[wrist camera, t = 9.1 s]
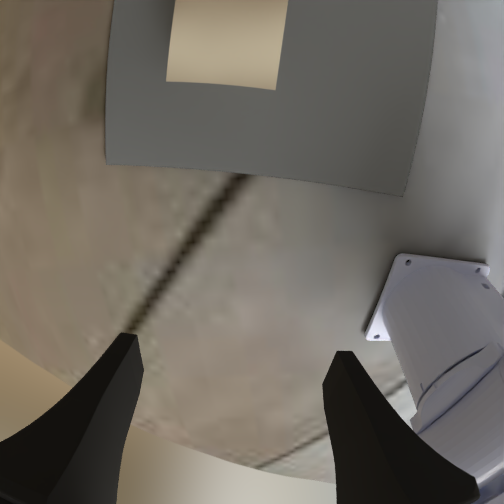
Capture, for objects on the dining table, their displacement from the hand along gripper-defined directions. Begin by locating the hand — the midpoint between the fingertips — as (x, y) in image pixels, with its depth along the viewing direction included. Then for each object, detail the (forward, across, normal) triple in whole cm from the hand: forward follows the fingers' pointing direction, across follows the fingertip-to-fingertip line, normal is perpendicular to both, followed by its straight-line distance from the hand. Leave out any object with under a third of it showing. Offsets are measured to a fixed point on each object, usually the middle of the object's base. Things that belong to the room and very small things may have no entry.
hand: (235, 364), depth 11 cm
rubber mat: (+10, 0, -12) cm, 16 cm away
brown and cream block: (+10, +2, -14) cm, 17 cm away
